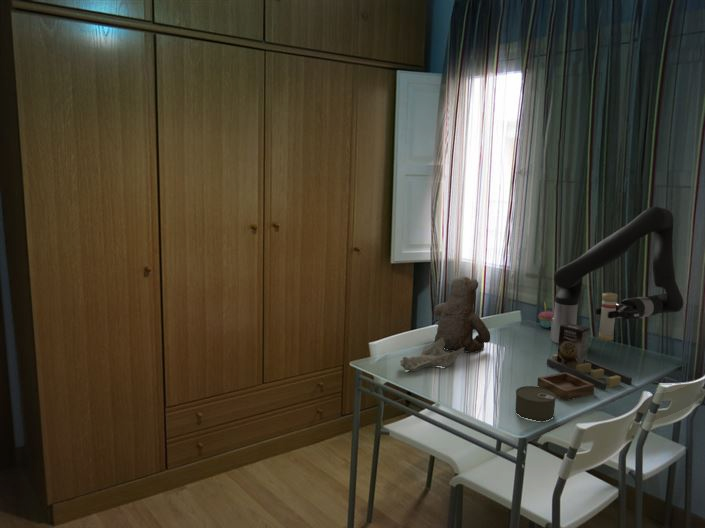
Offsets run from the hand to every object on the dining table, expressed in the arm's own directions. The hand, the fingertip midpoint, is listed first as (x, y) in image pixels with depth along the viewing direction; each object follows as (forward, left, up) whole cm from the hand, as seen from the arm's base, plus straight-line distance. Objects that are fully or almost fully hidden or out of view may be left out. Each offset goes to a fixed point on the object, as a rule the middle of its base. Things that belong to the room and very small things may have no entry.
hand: (602, 313), depth 209 cm
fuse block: (-9, +5, -26) cm, 28 cm away
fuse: (0, +3, -9) cm, 10 cm away
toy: (-53, -20, -26) cm, 63 cm away
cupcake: (-60, +35, -26) cm, 74 cm away
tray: (0, -14, -26) cm, 30 cm away
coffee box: (-16, +5, -26) cm, 31 cm away
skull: (-39, -45, -26) cm, 65 cm away
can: (+10, -37, -26) cm, 47 cm away
